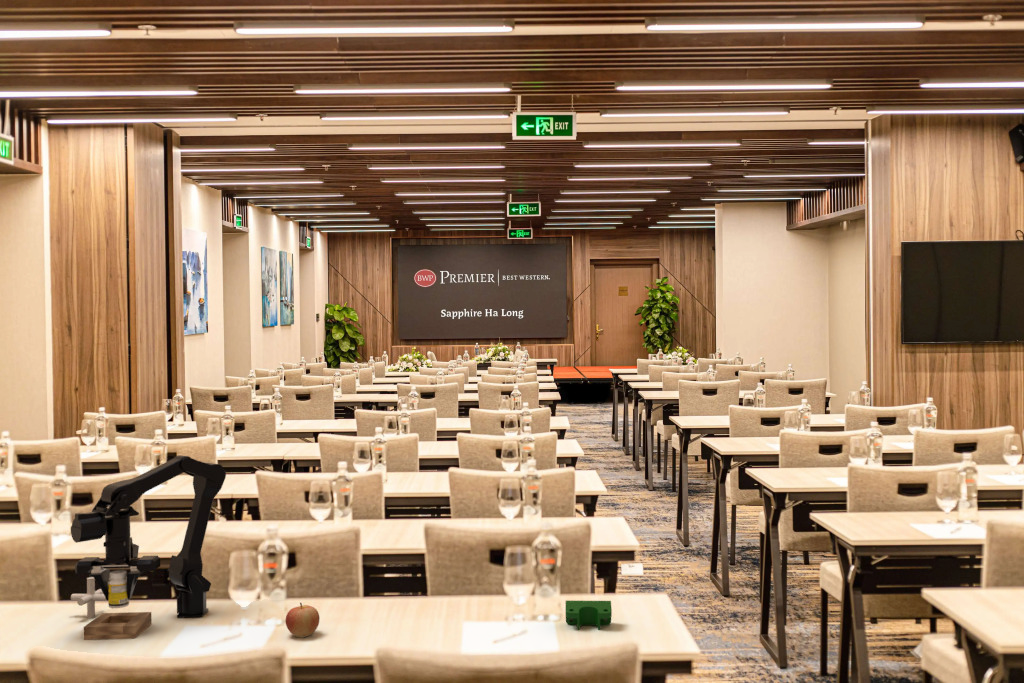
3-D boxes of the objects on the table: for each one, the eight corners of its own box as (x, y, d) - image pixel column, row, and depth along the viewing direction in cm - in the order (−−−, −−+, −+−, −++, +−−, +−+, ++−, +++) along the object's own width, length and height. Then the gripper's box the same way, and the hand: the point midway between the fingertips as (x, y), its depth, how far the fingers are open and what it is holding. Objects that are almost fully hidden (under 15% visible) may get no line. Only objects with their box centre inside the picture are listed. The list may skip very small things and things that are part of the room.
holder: (151, 623, 241) (151, 611, 241) (134, 638, 229) (134, 625, 229) (102, 625, 241) (102, 613, 241) (83, 639, 229) (83, 626, 229)
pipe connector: (119, 611, 253) (119, 573, 253) (99, 622, 243) (99, 583, 243) (83, 611, 254) (83, 573, 254) (61, 621, 244) (61, 582, 244)
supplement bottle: (112, 603, 237) (111, 569, 237) (131, 603, 237) (131, 569, 238) (105, 609, 232) (105, 574, 232) (125, 608, 233) (125, 573, 233)
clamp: (574, 646, 233) (558, 615, 231) (574, 633, 239) (559, 603, 237) (619, 629, 231) (604, 598, 230) (618, 616, 237) (603, 585, 235)
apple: (289, 642, 225) (288, 608, 225) (282, 633, 232) (282, 600, 232) (323, 638, 228) (322, 604, 228) (316, 629, 235) (315, 596, 235)
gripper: (166, 528, 243) (167, 589, 243) (92, 530, 243) (93, 592, 243) (152, 537, 232) (153, 601, 232) (73, 539, 231) (74, 604, 231)
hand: (118, 599), depth 235 cm, fingers closed on supplement bottle, 5 cm apart
